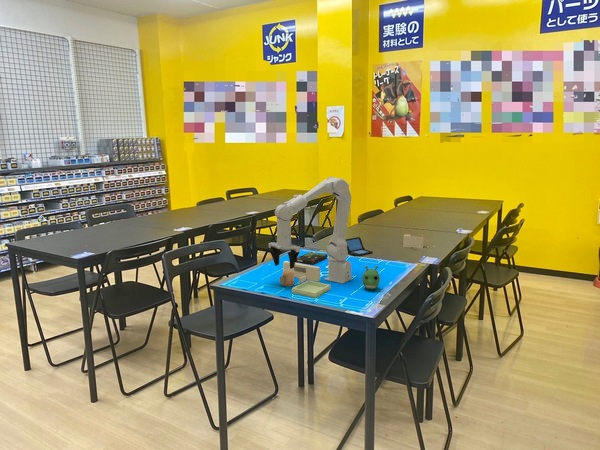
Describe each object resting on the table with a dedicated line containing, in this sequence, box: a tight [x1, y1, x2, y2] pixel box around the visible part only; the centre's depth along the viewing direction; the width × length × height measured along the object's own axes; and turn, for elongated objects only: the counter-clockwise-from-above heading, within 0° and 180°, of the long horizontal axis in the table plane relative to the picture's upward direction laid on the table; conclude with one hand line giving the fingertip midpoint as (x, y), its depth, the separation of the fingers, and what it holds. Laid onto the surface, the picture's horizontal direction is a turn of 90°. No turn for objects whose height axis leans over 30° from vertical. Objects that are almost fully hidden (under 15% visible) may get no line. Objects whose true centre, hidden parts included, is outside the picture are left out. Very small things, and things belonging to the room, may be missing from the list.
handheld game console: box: [345, 236, 374, 257], centre depth 238 cm, size 12×11×7 cm
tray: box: [291, 280, 331, 299], centre depth 180 cm, size 11×12×2 cm
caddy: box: [279, 271, 295, 287], centre depth 188 cm, size 5×7×5 cm, turn 147°
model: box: [402, 233, 425, 249], centre depth 251 cm, size 3×11×8 cm, turn 73°
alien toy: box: [361, 265, 381, 290], centre depth 181 cm, size 7×8×10 cm
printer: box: [282, 260, 321, 284], centre depth 195 cm, size 18×7×6 cm, turn 57°
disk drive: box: [295, 251, 328, 266], centre depth 225 cm, size 10×3×15 cm
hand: (284, 266), depth 185 cm, fingers open, 7 cm apart
